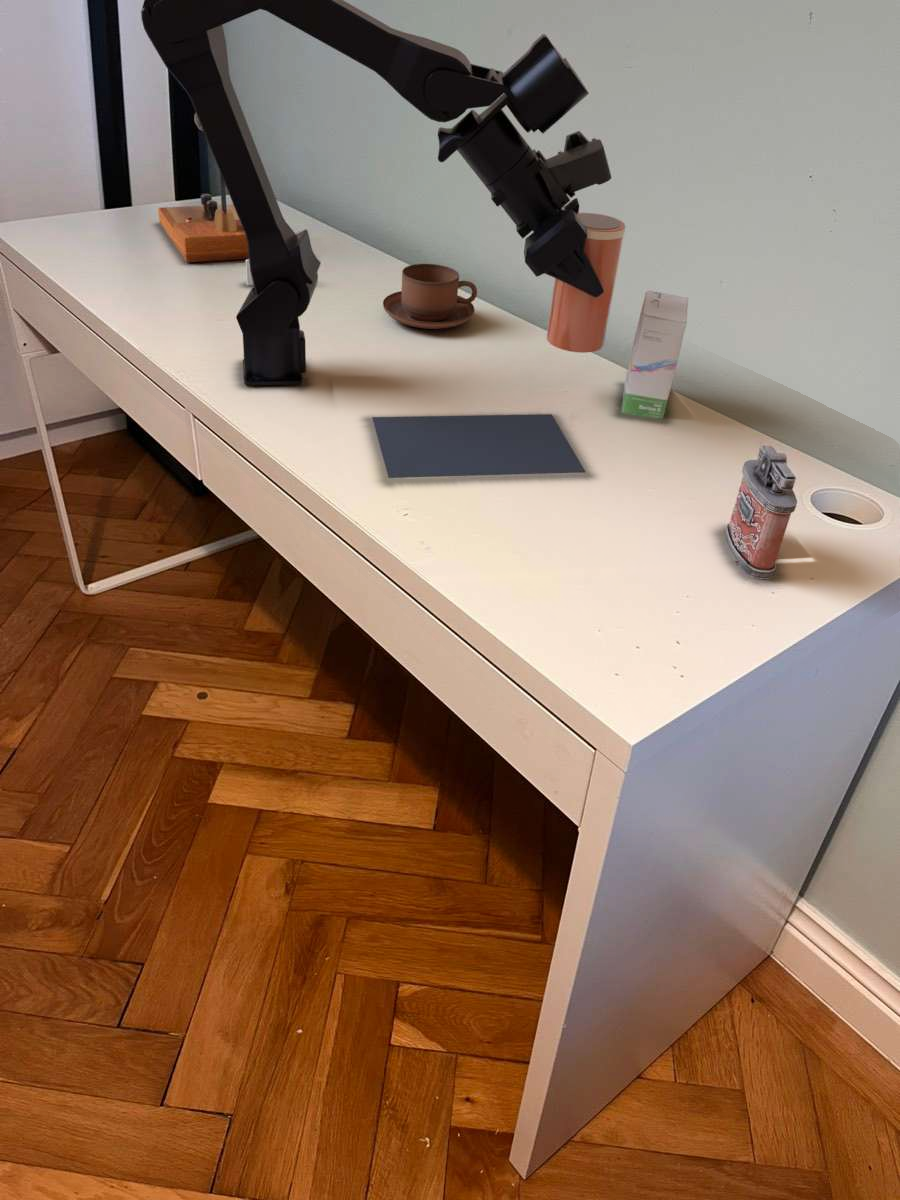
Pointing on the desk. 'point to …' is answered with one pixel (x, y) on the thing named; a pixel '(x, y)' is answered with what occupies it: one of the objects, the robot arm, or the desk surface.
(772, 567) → the lighter
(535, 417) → the felt mat
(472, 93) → the robot arm
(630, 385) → the ink box
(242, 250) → the wooden scientific apparatus
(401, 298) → the cup and saucer
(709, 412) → the desk surface
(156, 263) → the desk surface
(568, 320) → the pen pot
